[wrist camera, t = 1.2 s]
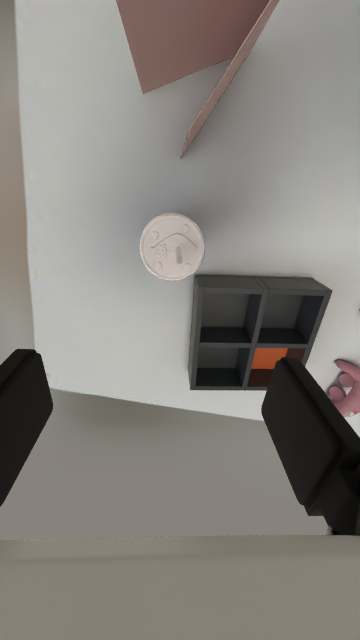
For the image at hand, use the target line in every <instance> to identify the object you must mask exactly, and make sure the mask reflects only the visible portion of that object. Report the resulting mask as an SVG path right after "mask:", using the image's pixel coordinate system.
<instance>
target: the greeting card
mask: <svg viewBox="0 0 360 640" xmlns="http://www.w3.org/2000/svg"><path fill="white" fill-rule="evenodd" d="M116 1H117V5H118V8H119V12H120V15H121V19H122V22H123V26H124V29H125V33H126V36H127V40H128V43H129V47H130V50H131V54H132V57H133V61H134V64H135V68H136V71H137V75H138V78H139V82H140V85H141V89H142V92H143V94H144V93H146V92H148V91H151V90H153V89H156V88H158V87H161V86H163V85H165V84H168V83H170V82H173V81H175V80H177V79H180V78H182V77H185V76H187V75H190V74H192V73H194V72H197V71H199V70H202V69H204V68H207V67H209V66H211V65H214V64H216V63H219V62H221V61H223V60H226V59H228V58H231V57H233V56H235V57H234V58H233V60H232V62H231V63H230V65H229V66H228V68H227V69H226V71H225V73H224V74H223V76H222V77H221V79H220V81H219V82H218V84H217V85H216V87H215V89H214V90H213V92H212V93H211V95H210V96H209V98H208V100H207V101H206V103H205V104H204V106H203V108H202V109H201V111H200V112H199V114H198V116H197V117H196V119H195V120H194V122H193V124H192V125H191V127H190V128H189V132H188V135H187V138H186V142H185V145H184V149H183V152H182V155H181V158H182V156H183V155H184V153H185V151H186V150H187V148H188V147H189V145H190V144H191V142H192V141H193V139H194V138H195V136H196V134H197V133H198V131H199V130H200V128H201V127H202V125H203V124H204V122H205V120H206V119H207V117H208V116H209V114H210V113H211V111H212V110H213V108H214V107H215V105H216V103H217V102H218V100H219V99H220V97H221V96H222V94H223V93H224V91H225V89H226V88H227V86H228V85H229V83H230V82H231V80H232V79H233V77H234V76H235V74H236V72H237V71H238V69H239V68H240V66H241V65H242V63H243V62H244V60H245V58H246V57H247V55H248V54H249V52H250V51H251V49H252V47H253V46H254V44H255V42H256V40H257V39H258V37H259V35H260V33H261V32H262V30H263V28H264V26H265V25H266V23H267V21H268V19H269V17H270V16H271V14H272V12H273V10H274V9H275V7H276V5H277V3H278V2H279V0H116Z"/></svg>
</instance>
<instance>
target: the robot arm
mask: <svg viewBox="0 0 360 640" xmlns="http://www.w3.org/2000/svg"><path fill="white" fill-rule="evenodd" d="M52 409H53V402H52V398H51V393H50V389H49V385H48V381H47V377H46V373H45V369H44V365H43V361H42V357H41V355H40V354H39V353H37V352H36V351H35V350H33V349H17V350H15V351H14V352H13V353H12V354H11V355H10V356H9V357H8V358H7V359H6V360H5V361H4V362H3V363H2V364H1V365H0V506H1V505H2V504H3V502H4V501H5V499H6V497H7V495H8V493H9V491H10V489H11V488H12V486H13V484H14V482H15V480H16V478H17V476H18V475H19V473H20V471H21V469H22V467H23V465H24V463H25V461H26V460H27V458H28V456H29V454H30V452H31V450H32V448H33V446H34V445H35V443H36V441H37V439H38V437H39V435H40V433H41V431H42V430H43V428H44V426H45V424H46V422H47V420H48V418H49V417H50V415H51V412H52ZM262 416H263V418H264V421H265V423H266V426H267V428H268V430H269V433H270V435H271V437H272V440H273V443H274V445H275V447H276V450H277V452H278V455H279V457H280V459H281V461H282V464H283V466H284V469H285V471H286V474H287V476H288V479H289V481H290V483H291V486H292V488H293V491H294V493H295V495H296V498H297V500H298V502H299V503H300V504H301V505H304V507H305V510H306V512H307V514H308V516H324V518H325V520H326V522H327V524H328V529H327V534H326V535H256V536H255V535H246V536H183V537H133V538H132V537H130V538H129V537H128V538H83V539H41V540H5V541H4V540H1V541H0V640H360V438H359V436H358V435H357V434H356V433H355V431H354V430H353V429H352V427H351V426H350V425H349V423H348V422H347V421H346V420H345V418H344V417H343V416H342V414H341V413H340V412H339V411H338V409H337V408H336V407H335V405H334V404H333V403H332V401H331V400H330V399H329V398H328V396H327V395H326V394H325V392H324V391H323V390H322V389H321V387H320V386H319V385H318V383H317V382H316V381H315V380H314V378H313V377H312V376H311V374H310V373H309V372H308V370H307V369H306V368H305V367H304V365H303V364H302V363H301V361H300V360H299V359H298V358H296V357H282V358H281V359H280V361H279V360H278V361H276V363H275V366H274V370H273V373H272V376H271V379H270V382H269V385H268V389H267V392H266V395H265V398H264V401H263V404H262Z"/></svg>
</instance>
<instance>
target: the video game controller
mask: <svg viewBox="0 0 360 640" xmlns="http://www.w3.org/2000/svg"><path fill="white" fill-rule="evenodd" d="M336 365H337V366H338V367H339V368H340V369H341V370H343V371H344V372H346V373H344V374H341V375H340V376H339V382H340V383H341V384H342V385H343V386H346V387H352V389H351V390H350V392H349V393H348V395H347V396H346V393H345V391H344V390H343V388H341V387H340V386H333V387H331V388H330V390H329V393H330V395H331V397H332V399H330V400H331V401H332V403H333V404H334V405H335V407H336V408H337V409H338V411H339V412H340V413H341V414H342V416H343V417H351V416H353V415H355V414H357V413H359V412H360V368H358V367H356V366H354V365H352V364H350V363H348V362H345V361H341V360H337V361H336Z"/></svg>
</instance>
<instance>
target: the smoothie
mask: <svg viewBox="0 0 360 640" xmlns="http://www.w3.org/2000/svg"><path fill="white" fill-rule="evenodd" d="M204 253H205V243H204V238H203V235H202V233H201V230H200V228H199V227H198V226H197V225H196V223H195V222H194V221H193V220H191V219H190V218H188V217H187V216H185V215H182V214H179V213H166V214H161V215H159V216H157V217H155V218H154V219H152V220H151V221H150V222H149V223H148V224H147V225H146V227H145V229H144V231H143V232H142V235H141V239H140V255H141V258H142V261H143V263H144V265H145V266H146V268H147V269H148V270H149V271H150V272H151V273H152V274H153V275H155V276H157V277H158V278H161V279H163V280H168V281H177V280H182V279H184V278H187V277H188V276H190V275H192V274H193V273H194V272H195V271H196V270H197V269H198V268H199V266H200V264H201V263H202V260H203V257H204Z"/></svg>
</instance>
